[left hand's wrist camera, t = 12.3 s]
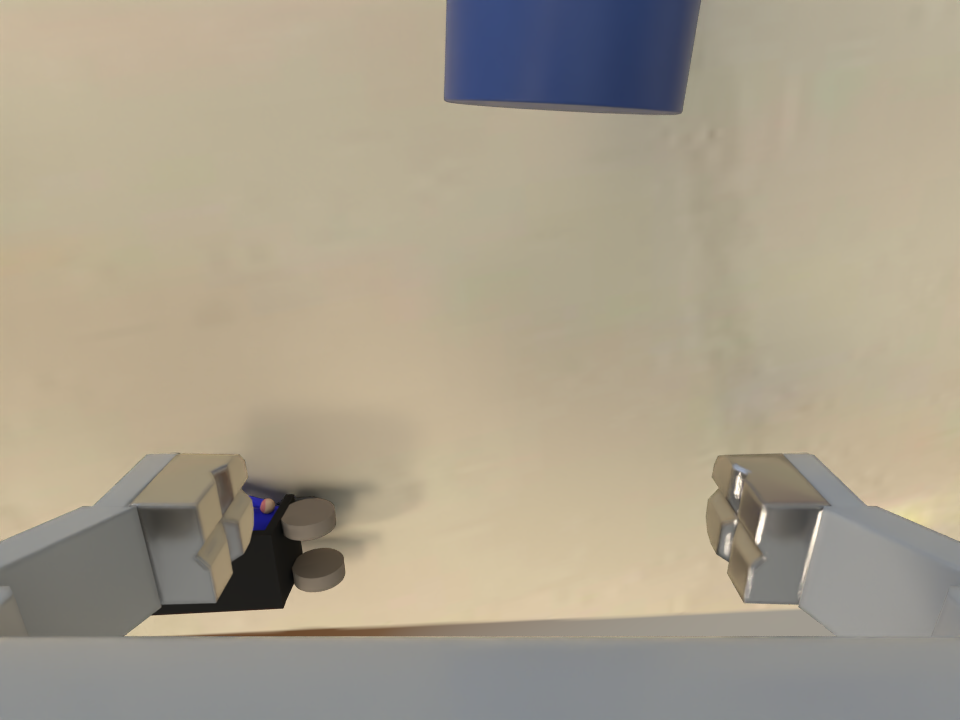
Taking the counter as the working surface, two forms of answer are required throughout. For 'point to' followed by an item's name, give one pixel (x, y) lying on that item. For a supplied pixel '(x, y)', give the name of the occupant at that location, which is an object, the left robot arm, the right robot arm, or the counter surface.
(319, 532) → the figurine character
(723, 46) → the counter surface
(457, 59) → the rod
